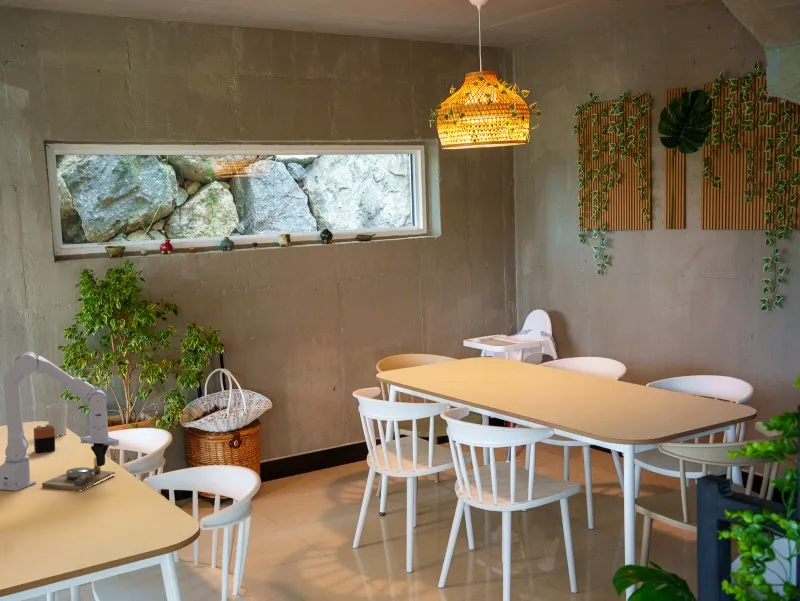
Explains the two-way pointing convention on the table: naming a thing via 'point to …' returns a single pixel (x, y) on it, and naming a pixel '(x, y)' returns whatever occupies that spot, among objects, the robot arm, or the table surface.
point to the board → (71, 483)
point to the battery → (44, 439)
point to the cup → (57, 417)
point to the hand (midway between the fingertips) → (100, 465)
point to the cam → (82, 471)
